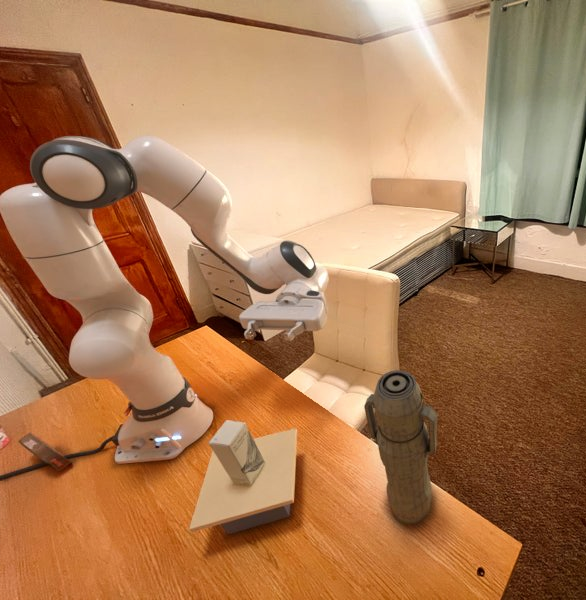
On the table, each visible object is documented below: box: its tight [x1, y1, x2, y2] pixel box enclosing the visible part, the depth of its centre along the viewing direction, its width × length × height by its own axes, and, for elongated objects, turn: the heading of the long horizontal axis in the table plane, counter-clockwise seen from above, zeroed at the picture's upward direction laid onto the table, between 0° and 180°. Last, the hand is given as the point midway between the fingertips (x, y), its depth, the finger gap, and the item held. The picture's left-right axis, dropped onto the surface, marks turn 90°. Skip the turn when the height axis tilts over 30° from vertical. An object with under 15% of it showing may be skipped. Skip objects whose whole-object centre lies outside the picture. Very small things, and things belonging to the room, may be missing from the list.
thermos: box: [363, 369, 438, 525], centre depth 55 cm, size 9×12×35 cm
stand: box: [188, 427, 298, 535], centre depth 65 cm, size 18×16×9 cm
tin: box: [18, 431, 73, 472], centre depth 77 cm, size 15×3×8 cm, turn 65°
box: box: [208, 419, 265, 485], centre depth 60 cm, size 5×4×13 cm
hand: (267, 337), depth 67 cm, fingers open, 8 cm apart
